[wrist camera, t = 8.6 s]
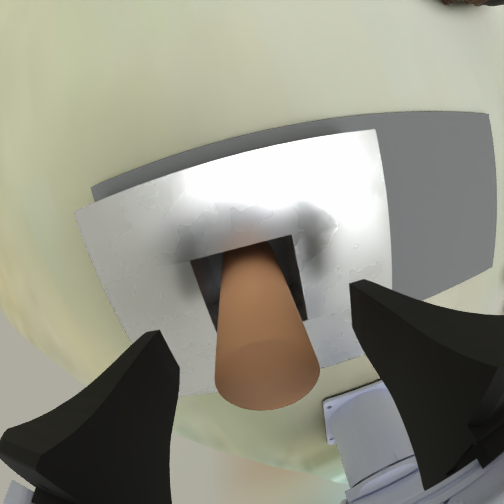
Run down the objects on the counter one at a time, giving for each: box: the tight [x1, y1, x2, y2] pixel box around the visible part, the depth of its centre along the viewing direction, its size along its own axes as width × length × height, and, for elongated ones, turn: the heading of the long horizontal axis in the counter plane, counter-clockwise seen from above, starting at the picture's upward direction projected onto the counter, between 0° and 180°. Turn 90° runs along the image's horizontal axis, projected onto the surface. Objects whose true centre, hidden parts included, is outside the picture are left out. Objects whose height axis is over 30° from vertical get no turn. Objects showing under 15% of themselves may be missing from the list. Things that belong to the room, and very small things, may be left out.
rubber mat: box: [91, 111, 497, 301], centre depth 16 cm, size 14×30×1 cm, turn 104°
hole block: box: [74, 129, 392, 397], centre depth 14 cm, size 12×14×4 cm
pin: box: [214, 241, 320, 410], centre depth 12 cm, size 3×3×10 cm
